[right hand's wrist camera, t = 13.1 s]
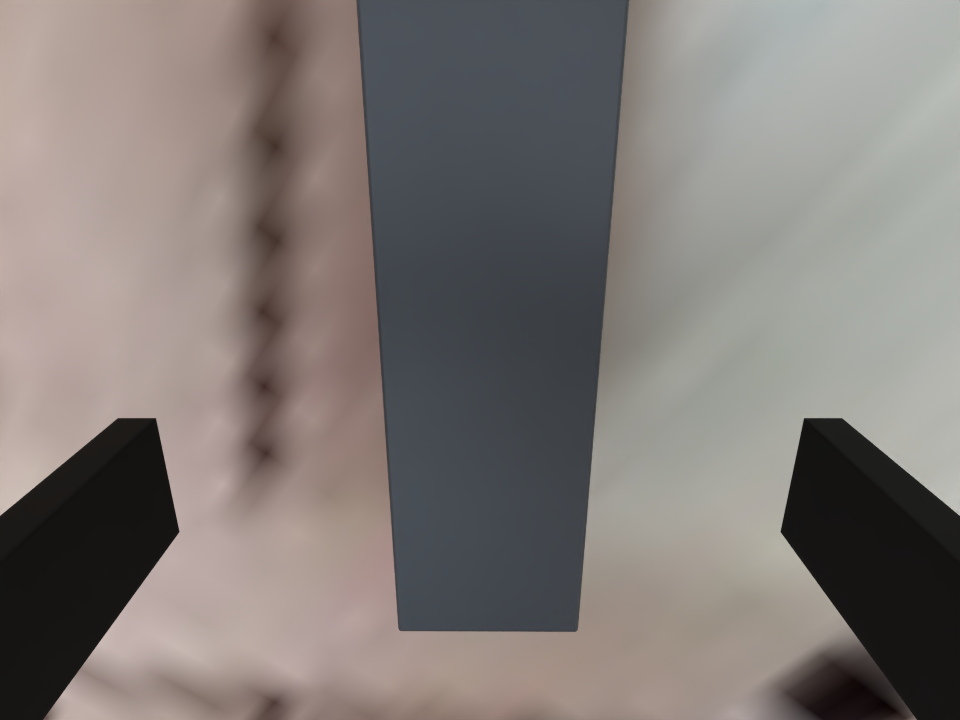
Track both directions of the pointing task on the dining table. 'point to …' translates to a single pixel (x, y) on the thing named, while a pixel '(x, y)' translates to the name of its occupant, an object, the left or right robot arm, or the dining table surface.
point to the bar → (490, 293)
